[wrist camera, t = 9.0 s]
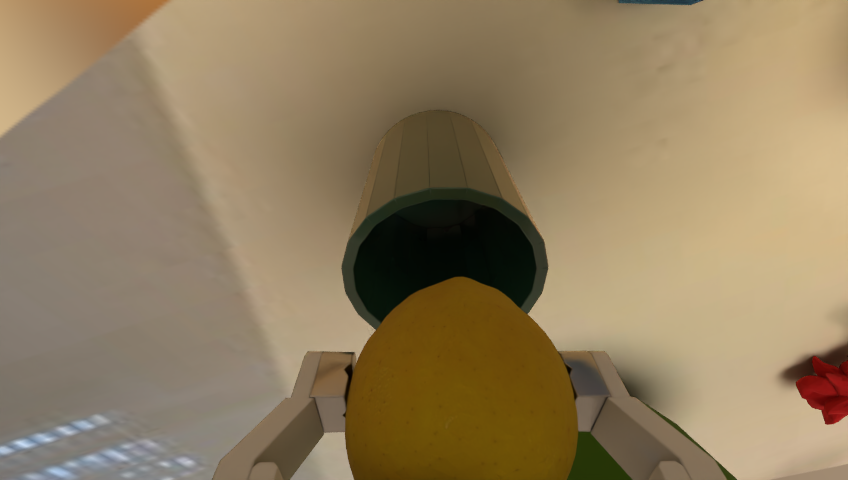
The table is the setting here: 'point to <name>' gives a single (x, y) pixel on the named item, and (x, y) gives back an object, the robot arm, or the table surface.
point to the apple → (460, 392)
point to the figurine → (826, 390)
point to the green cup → (440, 219)
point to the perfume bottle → (661, 2)
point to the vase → (610, 458)
